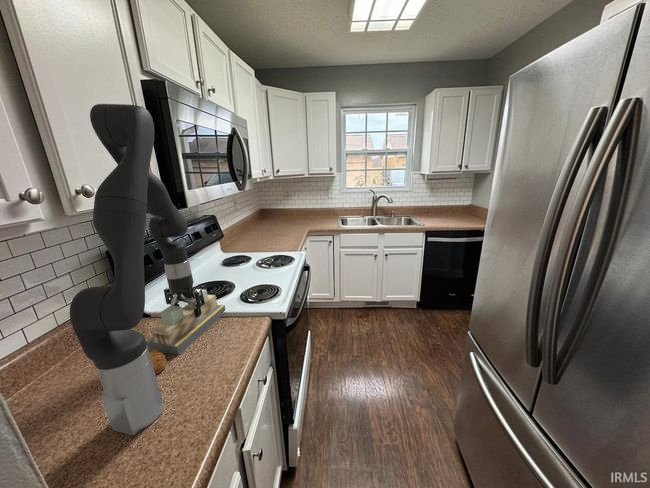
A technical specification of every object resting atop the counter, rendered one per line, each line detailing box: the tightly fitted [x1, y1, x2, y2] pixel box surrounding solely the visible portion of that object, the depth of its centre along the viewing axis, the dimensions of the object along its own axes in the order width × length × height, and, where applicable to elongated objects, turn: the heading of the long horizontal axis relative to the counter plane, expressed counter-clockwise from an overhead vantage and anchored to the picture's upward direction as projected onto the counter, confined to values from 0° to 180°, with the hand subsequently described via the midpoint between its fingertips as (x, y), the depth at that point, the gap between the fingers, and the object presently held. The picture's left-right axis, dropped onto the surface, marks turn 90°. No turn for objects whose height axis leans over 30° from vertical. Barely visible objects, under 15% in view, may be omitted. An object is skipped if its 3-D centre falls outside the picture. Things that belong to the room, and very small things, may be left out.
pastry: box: [149, 349, 167, 375], centre depth 77 cm, size 9×7×4 cm
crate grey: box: [191, 288, 209, 305], centre depth 97 cm, size 4×4×4 cm
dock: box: [146, 304, 227, 356], centre depth 94 cm, size 25×12×3 cm, turn 166°
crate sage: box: [159, 305, 184, 325], centre depth 86 cm, size 4×4×4 cm
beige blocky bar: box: [151, 294, 218, 345], centre depth 93 cm, size 24×6×5 cm, turn 166°
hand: (188, 315), depth 93 cm, fingers open, 8 cm apart
